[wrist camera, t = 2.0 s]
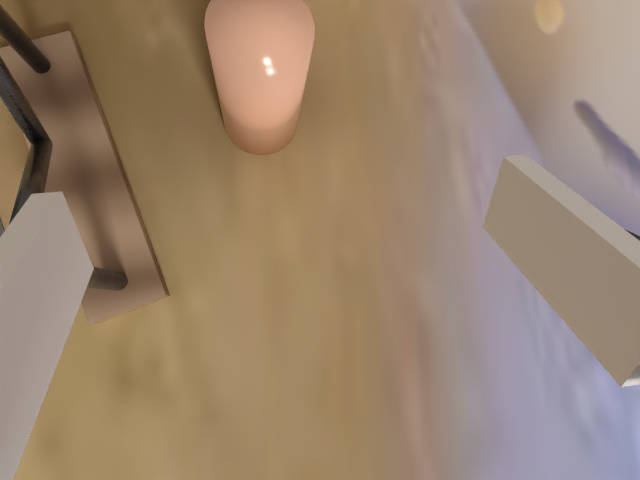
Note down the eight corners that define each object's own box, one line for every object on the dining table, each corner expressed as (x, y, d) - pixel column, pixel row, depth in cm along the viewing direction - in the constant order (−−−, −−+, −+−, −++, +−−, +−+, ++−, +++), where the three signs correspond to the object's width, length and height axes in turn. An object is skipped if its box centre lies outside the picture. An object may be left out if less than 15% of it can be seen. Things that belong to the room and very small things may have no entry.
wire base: (4, 59, 30) (-6, 49, 29) (76, 40, 31) (69, 30, 30) (96, 323, 28) (89, 324, 27) (169, 295, 29) (165, 295, 28)
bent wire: (29, 59, 29) (-137, -115, 17) (47, 55, 29) (-104, -120, 17) (112, 293, 27) (-6, 285, 15) (130, 286, 28) (29, 273, 16)
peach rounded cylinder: (213, 98, 32) (188, -8, 21) (281, 77, 33) (291, -34, 22) (239, 164, 31) (227, 91, 20) (307, 141, 32) (331, 60, 21)
